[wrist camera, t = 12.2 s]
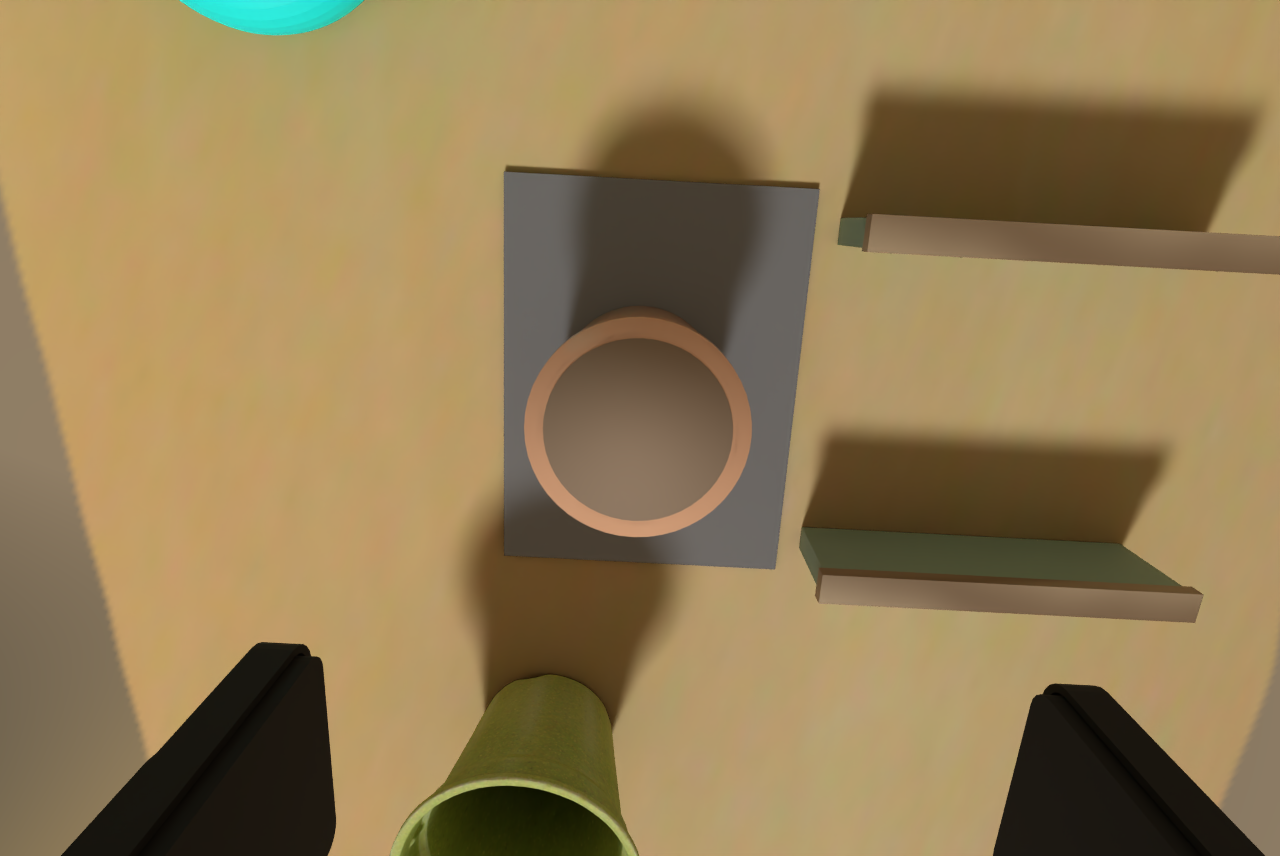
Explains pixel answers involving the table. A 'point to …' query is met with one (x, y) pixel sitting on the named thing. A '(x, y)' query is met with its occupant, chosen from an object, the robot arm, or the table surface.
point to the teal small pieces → (274, 14)
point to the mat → (681, 284)
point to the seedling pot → (638, 424)
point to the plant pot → (528, 782)
